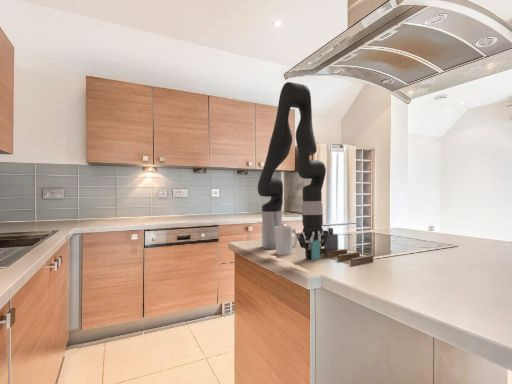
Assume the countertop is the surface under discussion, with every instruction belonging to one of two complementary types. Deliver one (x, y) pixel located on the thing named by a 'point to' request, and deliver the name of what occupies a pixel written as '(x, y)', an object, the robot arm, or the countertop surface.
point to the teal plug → (315, 250)
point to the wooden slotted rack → (346, 257)
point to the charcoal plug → (331, 241)
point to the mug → (285, 240)
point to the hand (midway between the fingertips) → (313, 258)
